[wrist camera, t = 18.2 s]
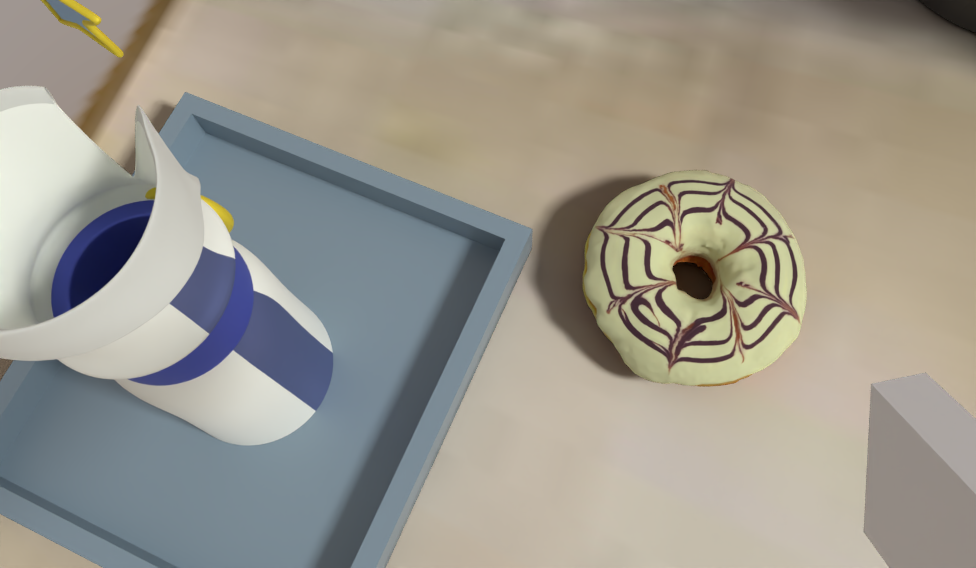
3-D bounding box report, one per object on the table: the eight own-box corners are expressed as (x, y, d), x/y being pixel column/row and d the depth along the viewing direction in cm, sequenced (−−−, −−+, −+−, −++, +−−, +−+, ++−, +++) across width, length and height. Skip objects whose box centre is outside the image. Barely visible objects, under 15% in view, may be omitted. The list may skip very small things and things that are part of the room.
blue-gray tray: (203, 117, 45) (185, 91, 42) (531, 248, 42) (532, 229, 39) (-27, 485, 39) (-64, 480, 36) (336, 673, 36) (323, 682, 33)
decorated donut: (632, 426, 39) (643, 413, 35) (549, 235, 42) (551, 205, 39) (827, 350, 40) (857, 329, 36) (730, 168, 43) (748, 133, 39)
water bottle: (198, 269, 41) (-233, -116, 18) (357, 302, 40) (125, -59, 17) (142, 426, 39) (-448, 220, 15) (310, 464, 38) (-40, 308, 14)
